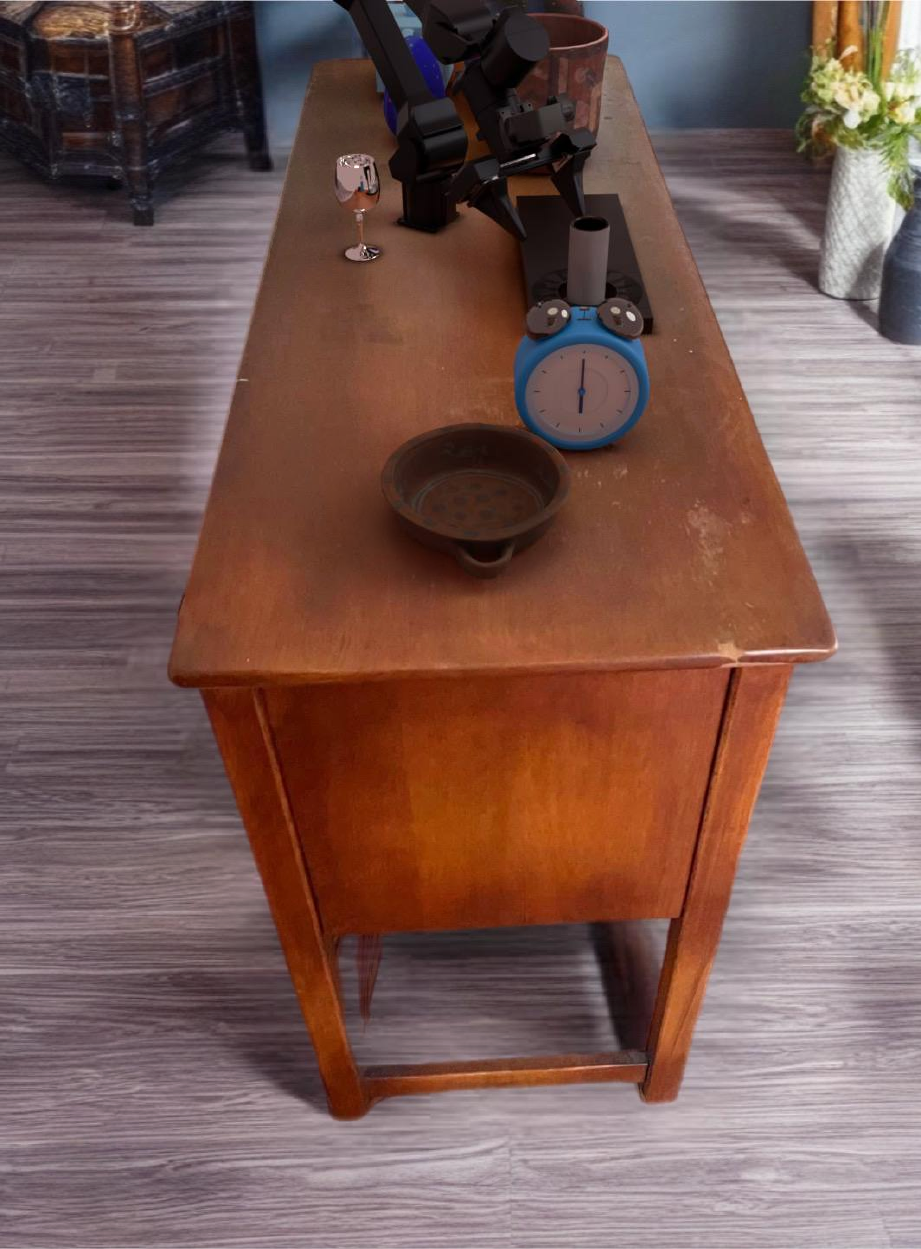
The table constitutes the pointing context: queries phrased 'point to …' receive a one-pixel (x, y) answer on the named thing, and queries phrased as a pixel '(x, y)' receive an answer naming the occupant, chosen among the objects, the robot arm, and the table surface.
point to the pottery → (569, 71)
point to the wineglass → (357, 195)
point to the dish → (476, 491)
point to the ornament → (429, 72)
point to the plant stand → (550, 251)
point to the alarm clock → (581, 373)
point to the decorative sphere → (533, 8)
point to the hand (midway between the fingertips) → (553, 230)
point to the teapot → (411, 26)
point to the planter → (587, 260)
